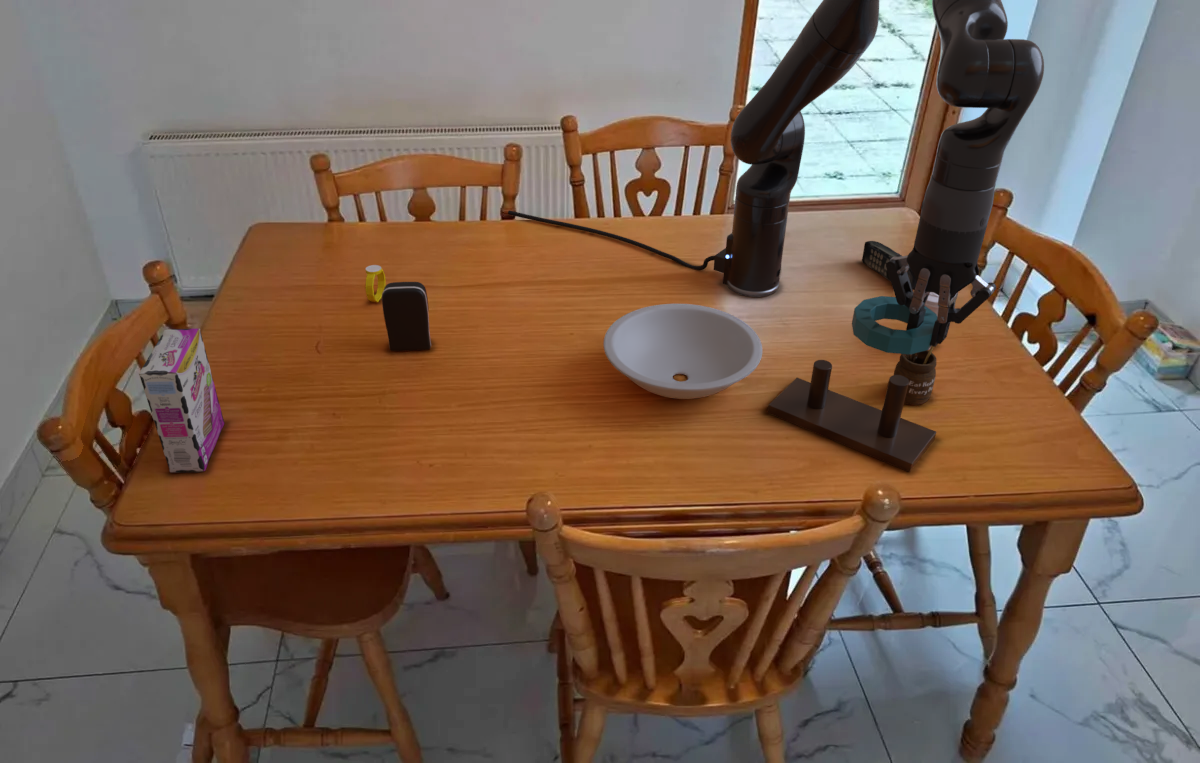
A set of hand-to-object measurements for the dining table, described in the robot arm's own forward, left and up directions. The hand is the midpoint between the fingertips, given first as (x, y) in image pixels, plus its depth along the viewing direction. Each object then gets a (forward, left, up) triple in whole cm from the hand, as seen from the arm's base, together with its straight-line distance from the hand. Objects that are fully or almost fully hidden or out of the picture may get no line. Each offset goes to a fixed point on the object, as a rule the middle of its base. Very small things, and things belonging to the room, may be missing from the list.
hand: (924, 339), depth 119 cm
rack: (-8, +2, -19) cm, 21 cm away
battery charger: (-74, -22, -19) cm, 80 cm away
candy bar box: (-78, -58, -19) cm, 99 cm away
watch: (-90, -15, -19) cm, 93 cm away
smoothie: (-8, +30, -19) cm, 37 cm away
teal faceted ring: (-4, 0, 0) cm, 4 cm away
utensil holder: (-4, +15, -19) cm, 25 cm away
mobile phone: (-21, +48, -19) cm, 56 cm away
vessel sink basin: (-34, -3, -19) cm, 39 cm away
